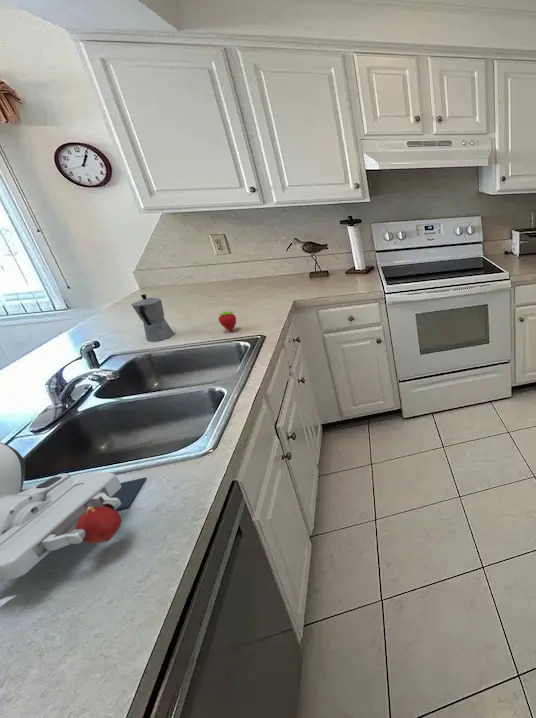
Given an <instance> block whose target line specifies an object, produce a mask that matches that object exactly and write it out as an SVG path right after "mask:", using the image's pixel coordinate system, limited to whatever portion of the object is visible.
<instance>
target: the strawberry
mask: <svg viewBox="0 0 536 718" xmlns="http://www.w3.org/2000/svg"><path fill="white" fill-rule="evenodd" d="M218 322H219V323H220V325H221V326H222V328H224V329H226V330H227V331H228V332H230V333H231V332H233V331H234V328H235V326H236V324H237V317H236V315H235V314H234V311H222V312H221V313H219V317H218Z"/></svg>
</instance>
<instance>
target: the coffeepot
mask: <svg viewBox="0 0 536 718" xmlns="http://www.w3.org/2000/svg"><path fill="white" fill-rule="evenodd" d="M140 297H141V299H139V300H137V301H134V302H133V303H131V304H130V305H131V307H132V308H133V309H134V311H135V313H136V314H137V316H138V317H139V319H140V320H141V321H142V323H143V329H144V334H145V339H146V341H148V342H149V343H150V342H151V343H154V342H161V341H165V340H167V339H170V338H172V337H173V336H175V332H174V331H173V330H172V328H171V326H170V324H169V323H168V322H167V320H166V318H165V317H164V316H165V312H164V307H163V303H162V299H161V298H159V297H147V294H145V293H143V294H141V295H140Z"/></svg>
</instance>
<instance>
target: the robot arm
mask: <svg viewBox="0 0 536 718" xmlns="http://www.w3.org/2000/svg"><path fill="white" fill-rule="evenodd" d="M70 475H71V474H69V473H65V472H64V473H59V474H57V475H54V476H52V477H51V478H49V479H46V480H45V481H43V482H41V483H39V484H36V485H35V486H33V487H30V488H28V489H25V490H23V487H24V482H25V477H26V462H25V460H24V458H23V456H22V455H21V453H20V452H19V451H17V449H15V448H14V447H12V446H10V445H9V444H7V443H3V442H1V441H0V580H15V579H17V578H20V577H23V576H24V575H26V574H27V573H28V572H29V571H30V570H31V569H32V568H34V567H35V566H36V565H37V564H38V563H39V562H40V561H41V560H43V559H44V558H45V557H46V556H47V555H48V554H50V553H51V552H52V551H56V550H59V549H62V548H64V547H67V546H70V545H74V544H75V545H76V544H77V545H78V544H81V543H82V542H83V540H84V539H85V538H86V537H87V535H88V534H86V531H85V530H83V529H79V530H78V529H75V528H76V525H77V522H78V520H79V518H80V517H81V516H82V515H83V513H85V511H86V510H87V508H88V507H91V506H93V507H110V508H112V509H116V508H118V507H119V506H120V505H121V502H120V500H119V499H118V498H110V497H112V496H113V495H114V494H115V493H116V492H117V491H118V490H119V489H120V488H121V484H120V483H121V482H120V480H119V478H118V476H117V475H116V474H115V473H114V472H110V471H95V472H82V473H78V474H75V475H72V476H70Z"/></svg>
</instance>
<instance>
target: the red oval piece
mask: <svg viewBox="0 0 536 718" xmlns="http://www.w3.org/2000/svg"><path fill="white" fill-rule="evenodd" d="M121 524H122V516H121V514H120V513H119V511H116V510H115V509H112V508H110V507H93V506H91V507H88V508H87V510H86V511H85V513H83V515H82V516H81V517H80V518H79V520H78V522H77V525H76V528H75V529H78V530H79V529H83V530H85V531H86V534H88V535H87V537H86V538H85V539H84V540H83V541H82V542H83V543H86V544H100V543H107V542H109V541H110V540H112V538H113V537H114V535H116V533H117V532H118V530H120V527H121Z"/></svg>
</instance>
